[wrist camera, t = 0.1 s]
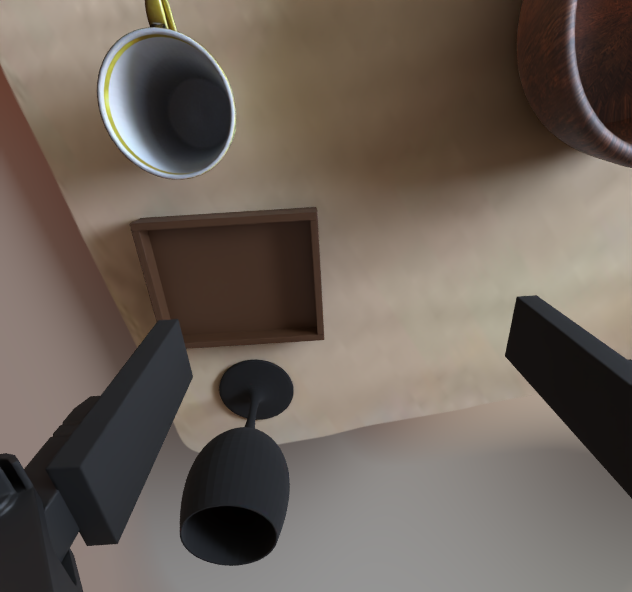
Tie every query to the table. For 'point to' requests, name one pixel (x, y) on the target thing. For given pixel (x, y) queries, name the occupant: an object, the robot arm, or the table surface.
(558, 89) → the wooden bowl
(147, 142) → the ceramic cup
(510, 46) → the table surface
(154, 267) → the tray
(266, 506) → the wine glass
